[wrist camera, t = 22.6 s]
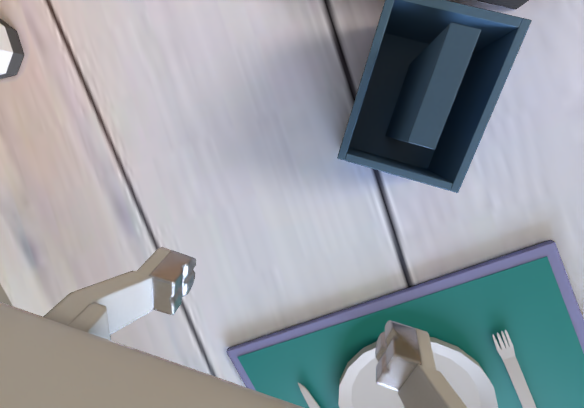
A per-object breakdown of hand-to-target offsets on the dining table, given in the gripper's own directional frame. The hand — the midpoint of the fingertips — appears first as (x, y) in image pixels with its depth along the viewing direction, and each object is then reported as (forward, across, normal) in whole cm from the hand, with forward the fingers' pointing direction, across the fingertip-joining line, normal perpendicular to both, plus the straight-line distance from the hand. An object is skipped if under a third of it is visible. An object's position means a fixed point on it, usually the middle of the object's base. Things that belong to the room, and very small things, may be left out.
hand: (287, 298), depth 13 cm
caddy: (+30, -6, -4) cm, 31 cm away
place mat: (+20, -20, +32) cm, 43 cm away
